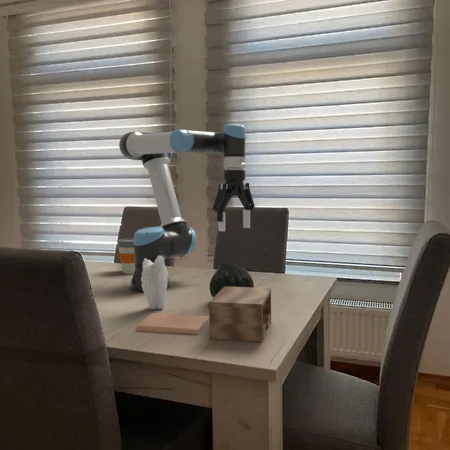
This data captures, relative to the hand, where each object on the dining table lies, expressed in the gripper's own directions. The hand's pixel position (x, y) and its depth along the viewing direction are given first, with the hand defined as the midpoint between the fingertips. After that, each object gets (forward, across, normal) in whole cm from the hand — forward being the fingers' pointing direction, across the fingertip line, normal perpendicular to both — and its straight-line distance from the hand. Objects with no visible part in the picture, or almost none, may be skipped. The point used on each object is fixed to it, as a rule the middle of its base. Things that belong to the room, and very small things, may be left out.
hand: (234, 229), depth 166 cm
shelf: (+24, -28, -26) cm, 45 cm away
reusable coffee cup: (+25, +4, +65) cm, 70 cm away
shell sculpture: (+24, -29, +9) cm, 39 cm away
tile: (+25, -37, -9) cm, 46 cm away
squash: (+24, -8, -5) cm, 26 cm away
